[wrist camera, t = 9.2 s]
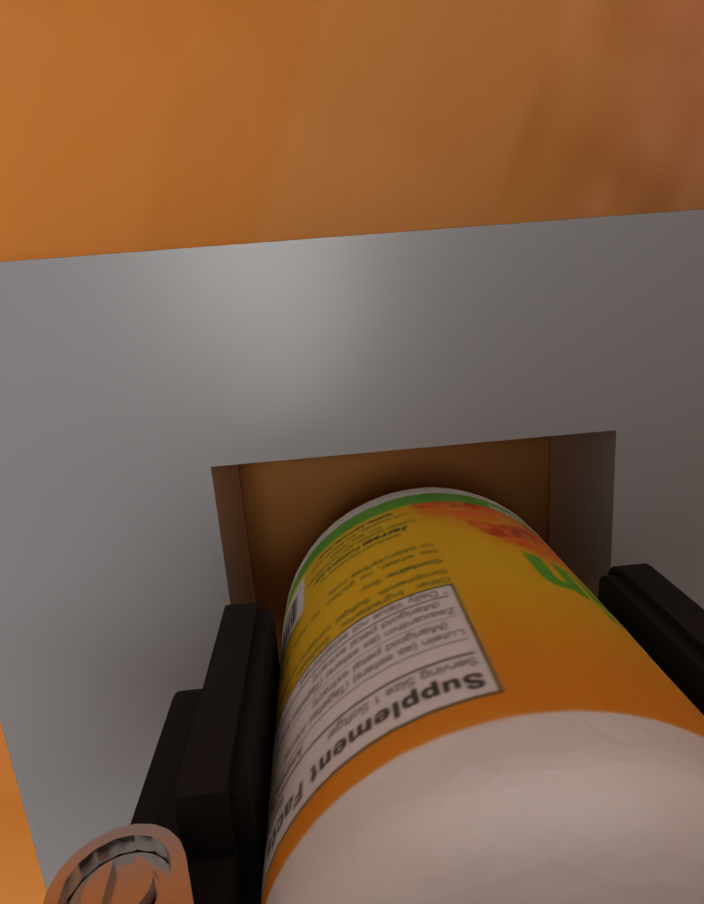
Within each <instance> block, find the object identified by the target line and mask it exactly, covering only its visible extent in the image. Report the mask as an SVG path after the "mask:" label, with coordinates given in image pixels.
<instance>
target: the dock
mask: <svg viewBox="0 0 704 904" xmlns="http://www.w3.org/2000/svg"><path fill="white" fill-rule="evenodd" d="M546 436H550V507H549V547H550V548H551V549H552V550H553V551H554V553H555V554H556V555H557V556H558V557H559V558H560V559H561V560H562V561H563V562H564V563H565V564H566V566H567V567H568V568H569V569H570V570H571V571H572V572H573V573H574V574H575V575H576V576H577V577H578V578H579V579H580V581H581V582H582V583H583V584H584V585H585V586H586V587H587V588H588V589H589V590H590V591H591V592H592V593H593V594H594V595H595V597H596V598H597V599H598V589H599V581H600V578H601V577H602V576H607V575H608V572H609V570H610V568H611V567H612V566H622V565H632V564H642V563H647V564H649V565H650V566H652V567H653V568H654V569H655V570H657V571H658V572H659V573H660V574H661V575H663V576H664V577H665V578H666V579H667V580H669V581H670V582H671V583H672V584H674V585H675V586H676V587H677V588H678V589H680V590H681V591H682V592H683V593H684V594H686V595H687V596H688V597H689V598H691V599H692V600H693V601H694V602H695V603H697V604H698V605H699V606H700V607H701V608H703V609H704V209H700V210H686V211H673V212H660V213H646V214H633V215H620V216H607V217H593V218H580V219H567V220H554V221H540V222H527V223H514V224H501V225H487V226H474V227H461V228H448V229H434V230H421V231H408V232H395V233H381V234H368V235H355V236H341V237H328V238H315V239H302V240H288V241H275V242H262V243H249V244H235V245H222V246H209V247H196V248H182V249H169V250H156V251H143V252H129V253H116V254H103V255H90V256H76V257H63V258H50V259H36V260H23V261H10V262H0V722H1V726H2V729H3V733H4V737H5V740H6V744H7V748H8V751H9V755H10V759H11V762H12V766H13V770H14V773H15V777H16V781H17V784H18V788H19V791H20V795H21V799H22V802H23V806H24V810H25V813H26V817H27V821H28V824H29V828H30V832H31V835H32V839H33V843H34V846H35V850H36V854H37V857H38V861H39V865H40V868H41V872H42V876H43V879H44V883H45V887H46V890H48V888H49V886H50V884H51V883H52V881H53V879H54V878H55V876H56V874H57V872H58V871H59V870H60V869H61V867H62V866H63V865H64V864H65V863H66V862H67V861H68V860H69V859H70V858H71V857H72V855H73V854H74V853H75V852H77V851H78V850H79V849H81V848H82V847H83V846H85V845H86V844H88V843H89V842H90V841H92V840H93V839H94V838H96V837H99V836H101V835H103V834H105V833H107V832H109V831H111V830H113V829H116V828H120V827H124V826H128V825H130V824H131V821H132V818H133V815H134V812H135V809H136V806H137V803H138V800H139V797H140V794H141V791H142V788H143V785H144V782H145V779H146V776H147V773H148V770H149V767H150V764H151V761H152V758H153V755H154V752H155V749H156V746H157V743H158V740H159V738H160V735H161V732H162V729H163V726H164V723H165V720H166V717H167V714H168V711H169V708H170V705H171V702H172V699H173V697H174V695H175V693H177V692H178V691H184V690H193V689H203V685H204V681H205V678H206V674H207V670H208V666H209V663H210V659H211V655H212V652H213V648H214V644H215V641H216V637H217V633H218V630H219V626H220V622H221V619H222V615H223V611H224V608H225V605H233V604H243V603H253V602H256V598H255V590H254V583H253V575H252V568H251V560H250V552H249V545H248V537H247V530H246V522H245V514H244V507H243V499H242V492H241V484H240V477H239V469H238V464H247V463H258V462H270V461H281V460H292V459H303V458H314V457H325V456H336V455H347V454H358V453H369V452H380V451H391V450H402V449H413V448H424V447H436V446H447V445H458V444H469V443H480V442H491V441H502V440H513V439H524V438H535V437H546Z"/></svg>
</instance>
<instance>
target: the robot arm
mask: <svg viewBox="0 0 704 904" xmlns="http://www.w3.org/2000/svg"><path fill="white" fill-rule="evenodd" d="M598 600H599V601H600V602H601V603H602V605H603V606H604V607H605V608H606V609H607V610H608V611H609V612H610V613H611V614H612V615H613V616H614V617H615V618H616V619H617V621H618V622H619V623H620V624H621V625H622V626H623V627H624V628H625V629H626V630H627V631H628V632H629V634H630V635H631V636H632V637H633V638H634V639H635V640H636V642H637V643H638V644H639V645H640V646H641V647H642V648H643V649H644V651H645V652H646V653H647V654H648V655H649V656H650V657H651V658H652V660H653V661H654V662H655V663H656V664H657V665H658V666H659V668H660V669H661V670H662V671H663V672H664V673H665V674H666V675H667V676H668V677H669V678H670V679H671V681H672V682H673V683H674V684H675V685H676V686H677V687H678V688H679V689H680V690H681V691H682V692H683V694H684V695H685V696H686V697H687V698H688V699H689V700H690V701H691V702H692V703H693V704H694V705H695V707H696V708H697V709H698V710H699V711H700V712H701V713H702V714H703V715H704V609H703V608H701V607H700V606H699V605H698V604H697V603H695V602H694V601H693V600H692V599H691V598H689V597H688V596H687V595H686V594H684V593H683V592H682V591H681V590H680V589H678V588H677V587H676V586H675V585H674V584H672V583H671V582H670V581H669V580H667V579H666V578H665V577H664V576H663V575H661V574H660V573H659V572H658V571H657V570H655V569H654V568H653V567H652V566H650V565H649V564H647V563H642V564H632V565H622V566H612V567H611V568H610V570H609V572H608V575H607V576H602V577H601V578H600V581H599V589H598ZM279 675H280V664H279V656H278V648H277V640H276V632H275V624H274V616H273V611H272V609H270V610H261V607H260V604H259V602H253V603H243V604H233V605H225V608H224V611H223V615H222V619H221V622H220V626H219V630H218V633H217V637H216V641H215V644H214V648H213V652H212V655H211V659H210V663H209V666H208V670H207V674H206V678H205V681H204V685H203V689H193V690H184V691H178V692H177V693H175V695H174V697H173V699H172V702H171V705H170V708H169V711H168V714H167V717H166V720H165V723H164V726H163V729H162V732H161V735H160V738H159V740H158V743H157V746H156V749H155V752H154V755H153V758H152V761H151V764H150V767H149V770H148V773H147V776H146V779H145V782H144V785H143V788H142V791H141V794H140V797H139V800H138V803H137V806H136V809H135V812H134V815H133V818H132V821H131V824H130V825H128V826H124V827H120V828H116V829H113V830H111V831H109V832H107V833H105V834H103V835H101V836H99V837H96V838H94V839H93V840H92V841H90V842H89V843H88V844H86V845H85V846H83V847H82V848H81V849H79V850H78V851H77V852H75V853H74V854H73V855H72V857H71V858H70V859H69V860H68V861H67V862H66V863H65V864H64V865H63V866H62V867H61V869H60V870H59V871H58V872H57V874H56V876H55V878H54V879H53V881H52V883H51V884H50V886H49V888H48V890H47V892H46V896H45V900H44V903H43V904H261V894H262V881H263V868H264V856H265V845H266V833H267V820H268V807H269V795H270V782H271V768H272V753H273V745H274V735H275V724H276V712H277V700H278V688H279Z"/></svg>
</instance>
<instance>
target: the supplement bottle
mask: <svg viewBox="0 0 704 904" xmlns="http://www.w3.org/2000/svg"><path fill="white" fill-rule="evenodd" d="M261 904H704V715H703V714H702V713H701V712H700V711H699V710H698V709H697V708H696V707H695V705H694V704H693V703H692V702H691V701H690V700H689V699H688V698H687V697H686V696H685V695H684V694H683V692H682V691H681V690H680V689H679V688H678V687H677V686H676V685H675V684H674V683H673V682H672V681H671V679H670V678H669V677H668V676H667V675H666V674H665V673H664V672H663V671H662V670H661V669H660V668H659V666H658V665H657V664H656V663H655V662H654V661H653V660H652V658H651V657H650V656H649V655H648V654H647V653H646V652H645V651H644V649H643V648H642V647H641V646H640V645H639V644H638V643H637V642H636V640H635V639H634V638H633V637H632V636H631V635H630V634H629V632H628V631H627V630H626V629H625V628H624V627H623V626H622V625H621V624H620V623H619V622H618V621H617V619H616V618H615V617H614V616H613V615H612V614H611V613H610V612H609V611H608V610H607V609H606V608H605V607H604V606H603V605H602V603H601V602H600V601H599V600H598V599H597V598H596V597H595V595H594V594H593V593H592V592H591V591H590V590H589V589H588V588H587V587H586V586H585V585H584V584H583V583H582V582H581V581H580V579H579V578H578V577H577V576H576V575H575V574H574V573H573V572H572V571H571V570H570V569H569V568H568V567H567V566H566V564H565V563H564V562H563V561H562V560H561V559H560V558H559V557H558V556H557V555H556V554H555V553H554V551H553V550H552V549H551V548H550V547H549V546H548V545H547V544H546V543H545V542H544V541H543V539H542V538H541V537H540V536H539V535H538V534H537V533H536V532H535V531H534V530H533V529H532V528H531V527H530V526H528V525H527V524H526V523H525V522H524V521H523V520H522V519H521V518H519V517H518V516H517V515H516V514H514V513H513V512H511V511H510V510H508V509H507V508H505V507H503V506H502V505H500V504H498V503H496V502H494V501H492V500H490V499H488V498H485V497H482V496H480V495H477V494H473V493H470V492H466V491H462V490H457V489H450V488H440V487H425V488H414V489H407V490H402V491H397V492H393V493H389V494H387V495H384V496H381V497H378V498H376V499H373V500H371V501H369V502H366V503H364V504H362V505H360V506H358V507H357V508H355V509H353V510H351V511H350V512H348V513H347V514H345V515H344V516H342V517H341V518H340V519H338V520H337V521H336V522H334V523H333V524H332V525H331V526H330V527H329V528H328V529H327V530H326V531H325V532H324V533H323V534H322V535H321V536H320V537H319V538H318V539H317V541H316V542H315V543H314V545H313V546H312V547H311V548H310V550H309V551H308V553H307V554H306V556H305V558H304V559H303V561H302V563H301V565H300V567H299V569H298V571H297V573H296V575H295V578H294V580H293V583H292V586H291V589H290V592H289V596H288V600H287V606H286V612H285V617H284V626H283V635H282V649H281V662H280V675H279V688H278V700H277V712H276V724H275V735H274V745H273V753H272V768H271V782H270V795H269V807H268V820H267V833H266V845H265V856H264V868H263V881H262V894H261Z"/></svg>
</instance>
